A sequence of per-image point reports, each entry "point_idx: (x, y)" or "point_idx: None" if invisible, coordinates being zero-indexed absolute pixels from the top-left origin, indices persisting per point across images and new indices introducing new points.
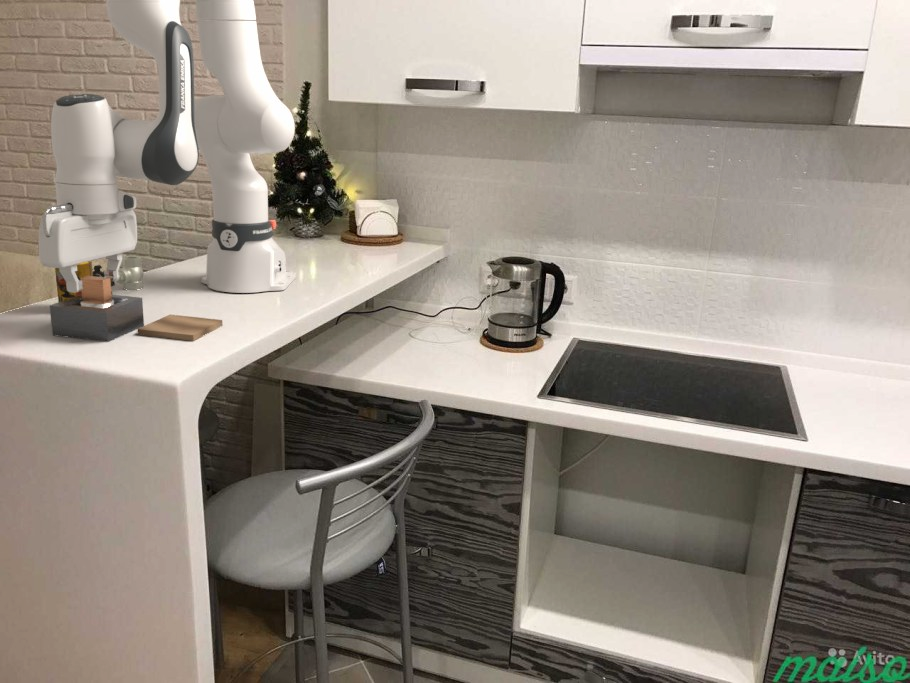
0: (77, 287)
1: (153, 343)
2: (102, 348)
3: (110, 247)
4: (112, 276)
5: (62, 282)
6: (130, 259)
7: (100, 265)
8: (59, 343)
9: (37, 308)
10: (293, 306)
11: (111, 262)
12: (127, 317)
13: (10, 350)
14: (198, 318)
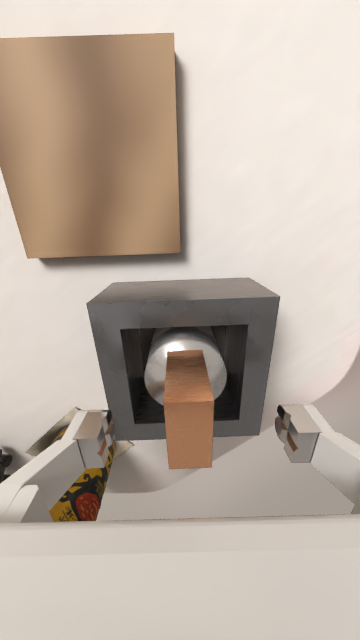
0: (316, 413)
1: (230, 167)
2: (295, 259)
3: (91, 609)
4: (101, 424)
5: (97, 510)
6: None
7: None
8: (280, 350)
9: (115, 483)
10: None
11: (51, 491)
12: (173, 289)
13: (331, 387)
14: (6, 148)
